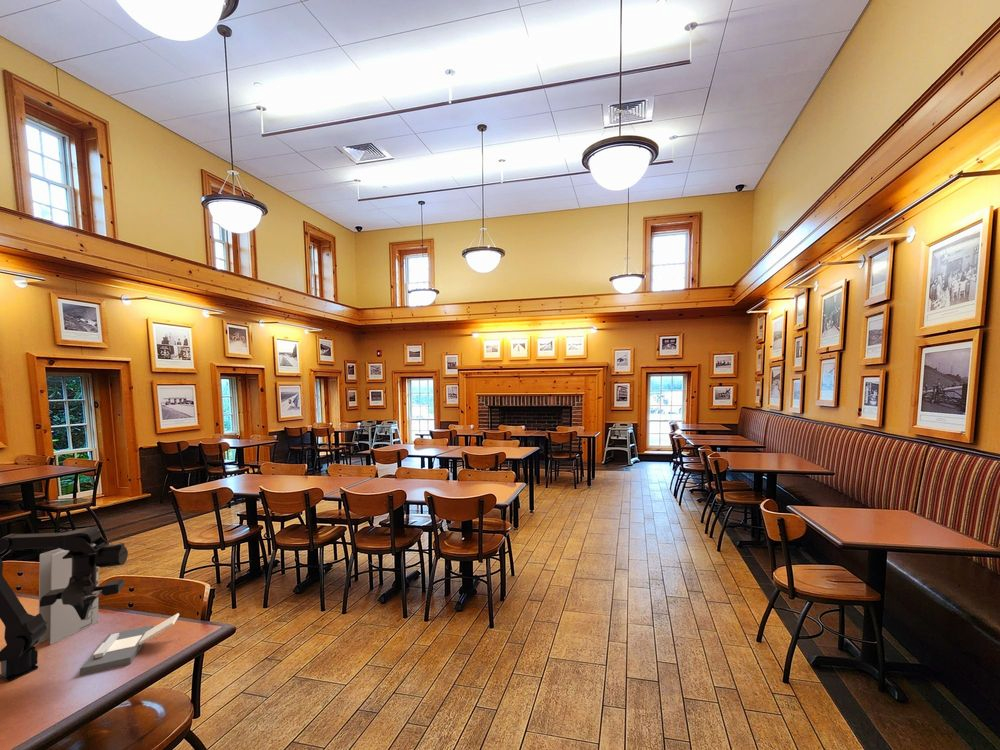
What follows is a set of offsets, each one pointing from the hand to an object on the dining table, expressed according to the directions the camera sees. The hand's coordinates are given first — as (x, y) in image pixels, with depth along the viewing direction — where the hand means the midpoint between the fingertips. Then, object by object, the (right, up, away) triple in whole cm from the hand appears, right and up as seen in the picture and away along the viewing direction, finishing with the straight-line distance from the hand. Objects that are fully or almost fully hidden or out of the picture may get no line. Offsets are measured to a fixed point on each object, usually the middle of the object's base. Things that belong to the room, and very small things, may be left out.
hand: (83, 619), depth 134 cm
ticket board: (+7, -13, +4) cm, 16 cm away
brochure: (-21, -14, +16) cm, 30 cm away
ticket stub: (+13, -11, +7) cm, 18 cm away
